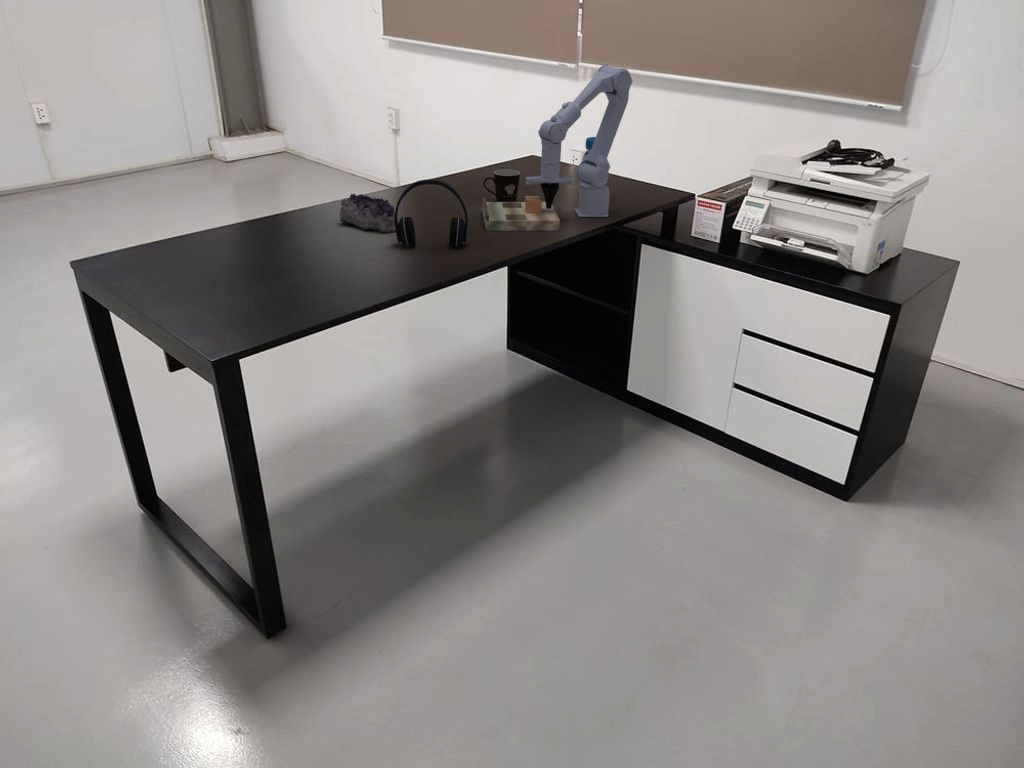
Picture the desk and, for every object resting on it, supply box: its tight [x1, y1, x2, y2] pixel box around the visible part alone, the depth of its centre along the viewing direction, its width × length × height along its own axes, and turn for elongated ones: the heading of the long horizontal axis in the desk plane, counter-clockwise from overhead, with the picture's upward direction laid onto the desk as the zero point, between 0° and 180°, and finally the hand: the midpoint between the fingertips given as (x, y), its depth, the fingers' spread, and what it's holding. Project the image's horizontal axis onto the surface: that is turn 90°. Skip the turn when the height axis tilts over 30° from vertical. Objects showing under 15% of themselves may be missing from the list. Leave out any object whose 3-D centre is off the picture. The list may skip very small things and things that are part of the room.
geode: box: [339, 193, 396, 235], centre depth 228 cm, size 20×12×10 cm, turn 54°
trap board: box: [482, 197, 561, 232], centre depth 237 cm, size 22×20×4 cm
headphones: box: [394, 178, 469, 248], centre depth 211 cm, size 20×7×18 cm, turn 93°
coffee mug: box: [482, 168, 521, 202], centre depth 253 cm, size 12×9×10 cm
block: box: [524, 195, 543, 213], centre depth 236 cm, size 4×4×4 cm
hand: (548, 207), depth 237 cm, fingers closed
